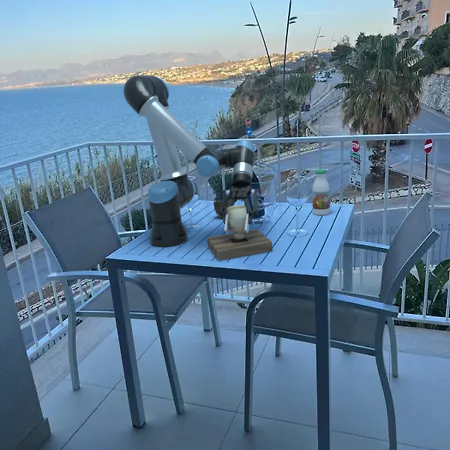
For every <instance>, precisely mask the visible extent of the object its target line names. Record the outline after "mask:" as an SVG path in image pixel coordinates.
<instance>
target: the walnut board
mask: <svg viewBox="0 0 450 450" xmlns="http://www.w3.org/2000/svg"><path fill="white" fill-rule="evenodd" d="M244 235H245V238H243V239H234V234H233V232H231V233H225V234H221V235H215V236H208V237H207V238H206V239H207V246H208V248H209V250H210V251H211V252H212V253H213V255H214V256H215V258H216V259H217V261H219V262H220V261H225V260H226V261H227V260H231V258H232V259H236V258H241V257H242V256H243V257H247V256H253V255H258V254H264V253H268V252H273V242H272V241H271V239H269V238H268V237H267V236H265V235H264V234H263V233H262V232H261V231H259V230H258V229H251V230H250V229H249V231H248V233H246V232H245V231H244Z"/></svg>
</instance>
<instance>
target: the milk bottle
mask: <svg viewBox="0 0 450 450" xmlns="http://www.w3.org/2000/svg"><path fill="white" fill-rule="evenodd" d="M330 188H331V186H330V184H329V182H328V179H327V169H326V168H325V169H324V168H318V169H315V180H314V181H313V185H312V191H311V192H312V193H311V195H312V196H311V197H312V199H311V200H312V213H313V215H315V216H327V215H329V214H330V213H331V189H330Z"/></svg>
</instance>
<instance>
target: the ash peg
mask: <svg viewBox="0 0 450 450" xmlns="http://www.w3.org/2000/svg"><path fill="white" fill-rule="evenodd" d="M227 212H228V222H229V230H228V231H229V232H231V233H233V234H234V239H243V238H245V235H244V231H245V222H246V214H248V211H247V206H246V205H240V204H239V205H234V206H231V207H228V208H227Z"/></svg>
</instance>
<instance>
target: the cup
mask: <svg viewBox="0 0 450 450" xmlns="http://www.w3.org/2000/svg"><path fill="white" fill-rule="evenodd" d="M221 201H222V199H221V200H220V199H219V200H217V199H216V200H214V201H213V208H214V211H215V214H216V215H218V218H219V219H223V216H221V214H220V213H219V209H220V205H221ZM229 201H230V199H227V203H226V207H227V205H228V203H229ZM226 207H225V209H226Z"/></svg>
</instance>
